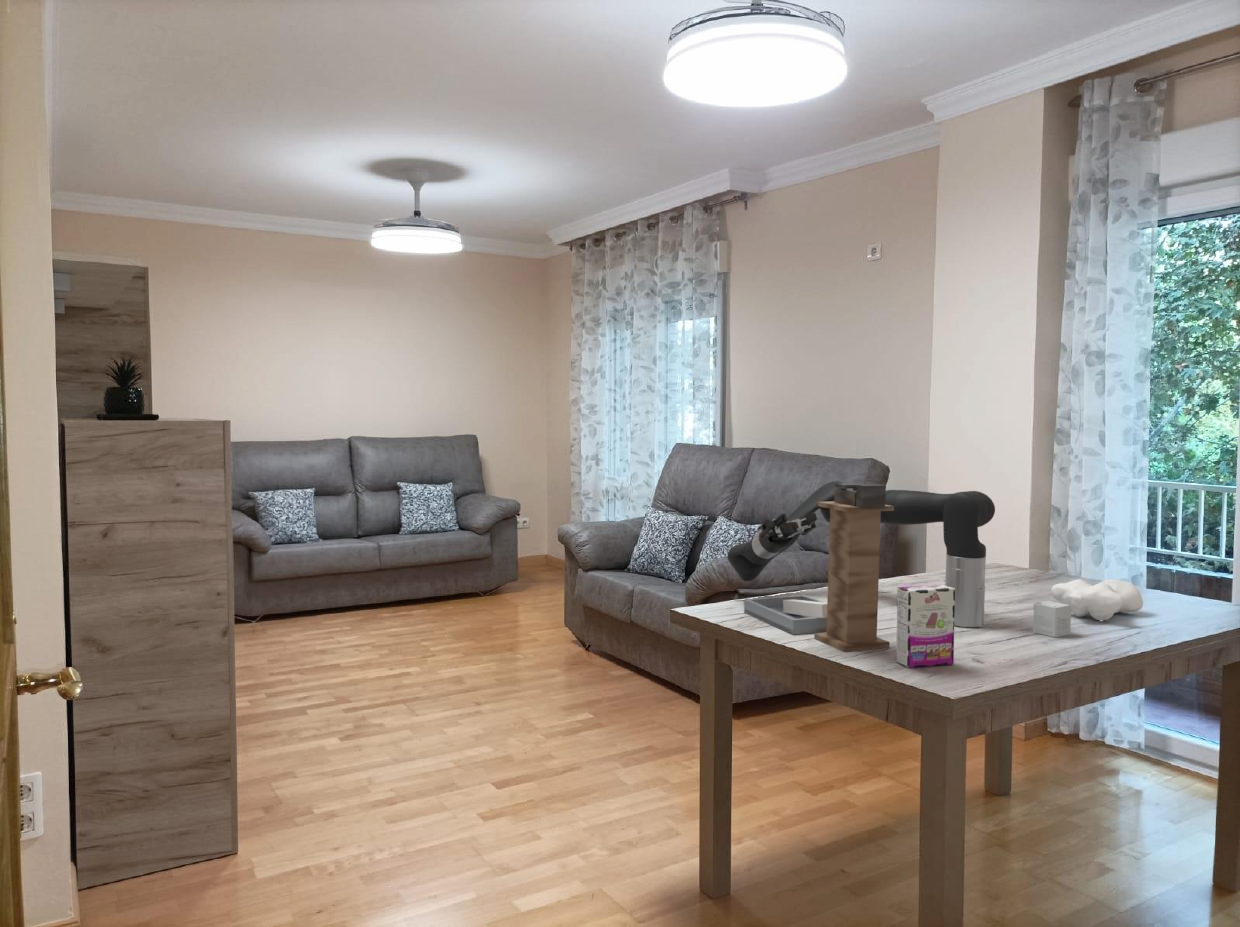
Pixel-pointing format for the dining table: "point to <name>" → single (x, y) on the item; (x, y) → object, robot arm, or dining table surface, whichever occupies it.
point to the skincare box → (1052, 619)
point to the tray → (784, 615)
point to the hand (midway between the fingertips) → (800, 516)
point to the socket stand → (854, 567)
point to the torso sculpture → (1098, 597)
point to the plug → (805, 608)
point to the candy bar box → (925, 625)
